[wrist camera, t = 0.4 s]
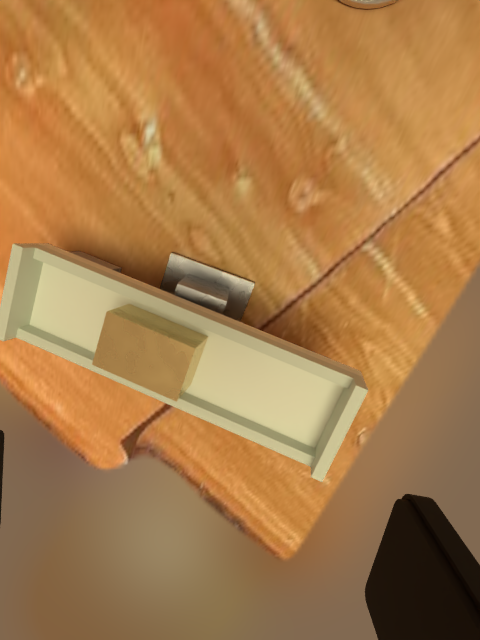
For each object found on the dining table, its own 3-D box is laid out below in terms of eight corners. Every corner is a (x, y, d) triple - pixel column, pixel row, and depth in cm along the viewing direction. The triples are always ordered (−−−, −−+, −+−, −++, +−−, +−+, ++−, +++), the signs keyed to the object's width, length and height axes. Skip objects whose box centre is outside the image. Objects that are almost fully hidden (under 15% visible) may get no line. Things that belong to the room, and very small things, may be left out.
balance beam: (54, 319, 42) (-6, 337, 34) (73, 243, 40) (12, 243, 32) (319, 432, 39) (322, 482, 31) (355, 357, 37) (368, 390, 29)
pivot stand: (138, 359, 46) (117, 388, 38) (172, 252, 42) (156, 259, 35) (215, 385, 47) (209, 418, 39) (254, 282, 43) (256, 296, 36)
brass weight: (115, 351, 36) (91, 364, 32) (129, 303, 34) (106, 311, 31) (191, 384, 35) (176, 401, 31) (208, 336, 34) (195, 348, 30)
